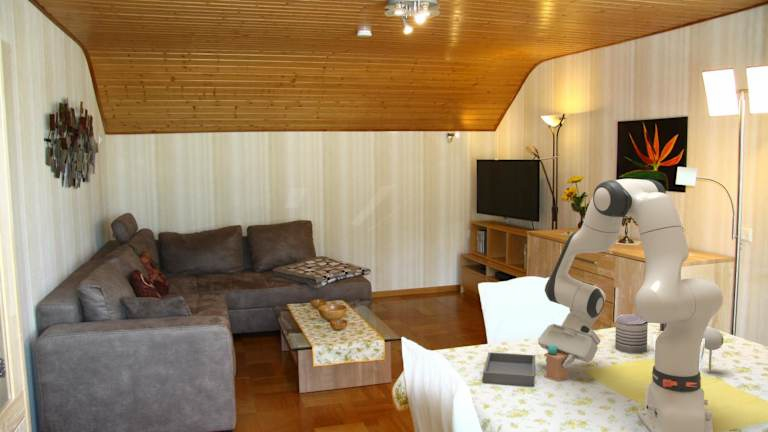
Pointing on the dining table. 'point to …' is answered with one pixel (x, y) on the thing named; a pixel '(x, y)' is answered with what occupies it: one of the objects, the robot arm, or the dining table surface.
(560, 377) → the terracotta square pedestal
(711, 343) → the lollipop
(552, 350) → the teal ball
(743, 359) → the dining table surface
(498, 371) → the charcoal tray
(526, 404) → the dining table surface
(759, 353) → the dining table surface
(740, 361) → the dining table surface
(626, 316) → the can
